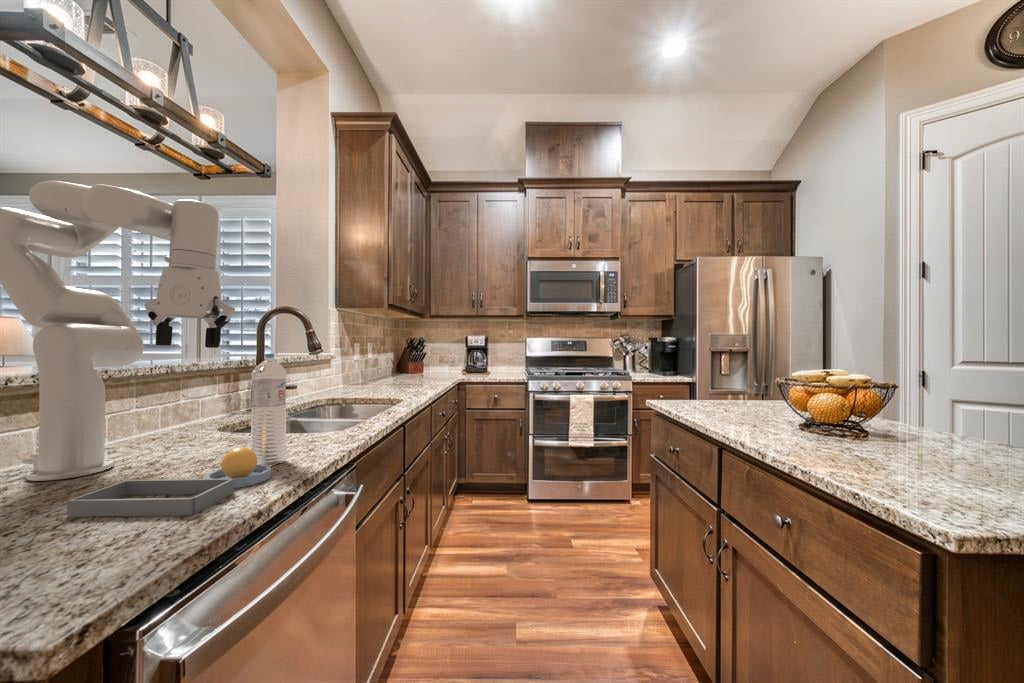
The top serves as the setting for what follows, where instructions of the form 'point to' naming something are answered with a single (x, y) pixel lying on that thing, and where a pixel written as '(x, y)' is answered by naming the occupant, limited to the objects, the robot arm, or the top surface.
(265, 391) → the water bottle
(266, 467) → the dish
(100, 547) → the top surface
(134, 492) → the shallow grey tray
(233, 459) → the yellow-orange oval ball
